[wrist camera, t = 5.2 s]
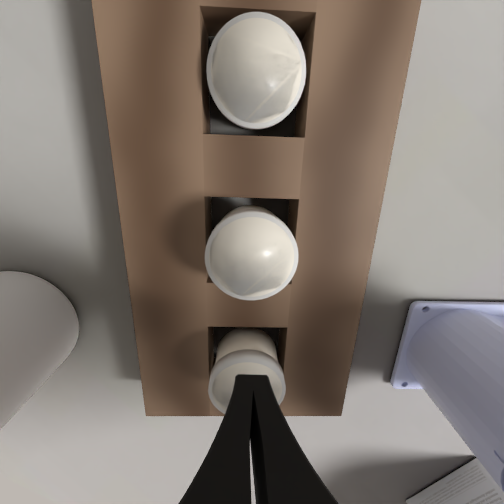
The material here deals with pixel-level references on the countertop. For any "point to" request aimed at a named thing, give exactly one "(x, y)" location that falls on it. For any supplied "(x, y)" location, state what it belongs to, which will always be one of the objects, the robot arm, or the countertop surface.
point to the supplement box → (462, 488)
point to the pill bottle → (31, 337)
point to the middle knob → (251, 253)
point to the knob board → (250, 185)
